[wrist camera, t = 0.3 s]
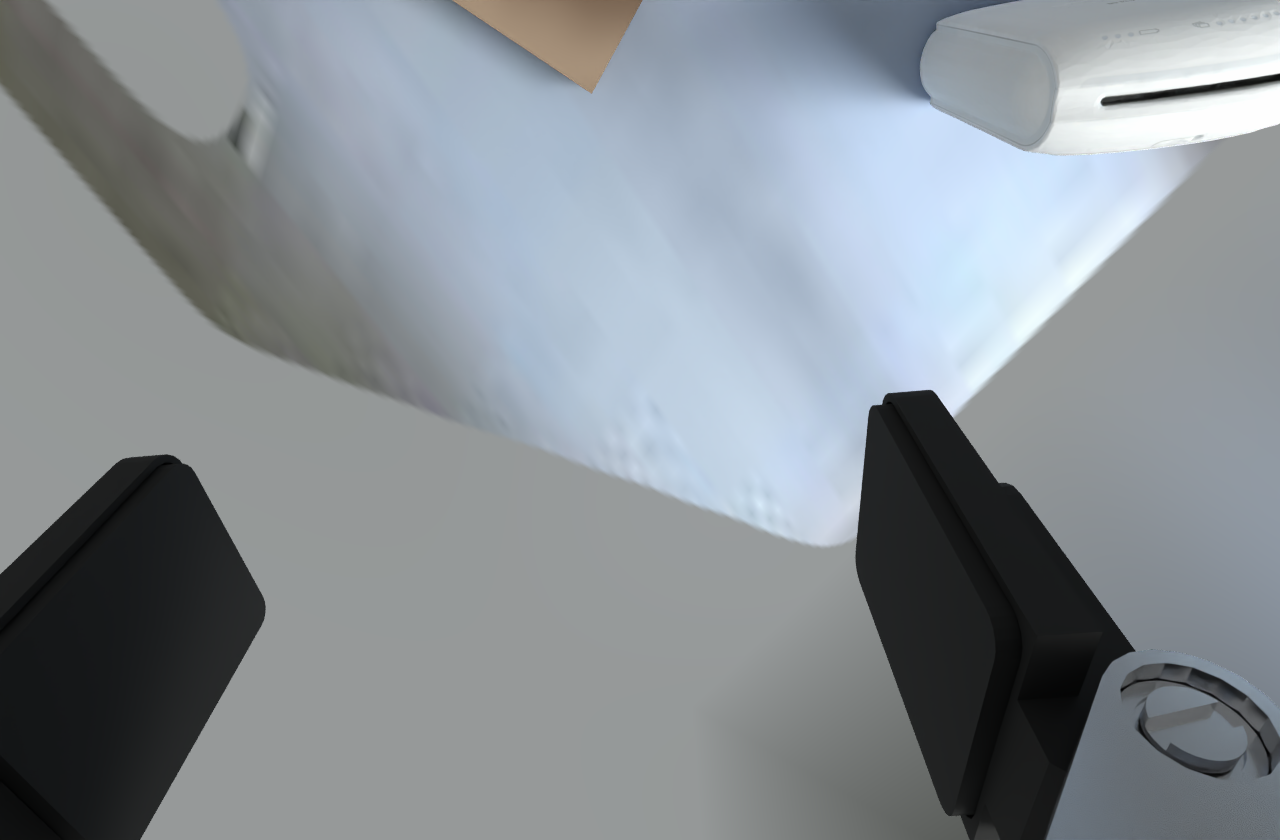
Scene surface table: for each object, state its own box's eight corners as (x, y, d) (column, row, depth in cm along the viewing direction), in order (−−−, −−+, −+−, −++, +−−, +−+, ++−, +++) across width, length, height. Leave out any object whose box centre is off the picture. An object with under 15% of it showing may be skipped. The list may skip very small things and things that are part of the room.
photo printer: (1164, -28, 30) (1436, -20, 20) (1140, 81, 33) (1371, 138, 22) (920, 10, 31) (1060, 36, 21) (913, 113, 33) (1036, 183, 23)
